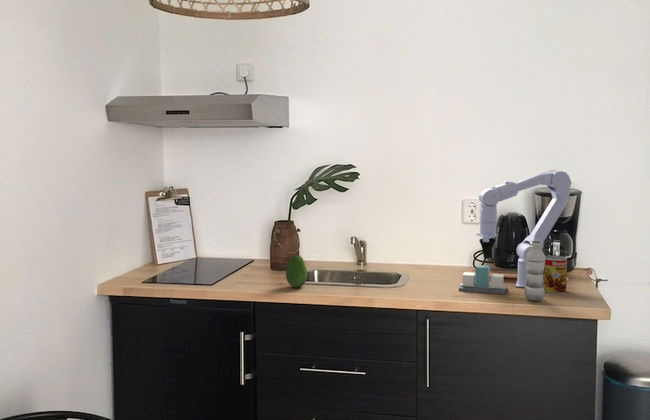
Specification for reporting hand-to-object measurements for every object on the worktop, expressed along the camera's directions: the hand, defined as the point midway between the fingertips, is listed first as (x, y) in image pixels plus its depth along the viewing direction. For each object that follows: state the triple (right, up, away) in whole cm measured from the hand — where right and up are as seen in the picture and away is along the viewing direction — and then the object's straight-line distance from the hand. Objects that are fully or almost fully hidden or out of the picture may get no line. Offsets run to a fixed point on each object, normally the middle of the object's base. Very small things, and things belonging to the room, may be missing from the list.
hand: (487, 258), depth 231 cm
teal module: (-3, -10, -4) cm, 11 cm away
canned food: (+22, -11, -7) cm, 26 cm away
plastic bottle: (+11, -13, -19) cm, 26 cm away
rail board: (-3, -11, -4) cm, 12 cm away
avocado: (-70, -11, +3) cm, 71 cm away
